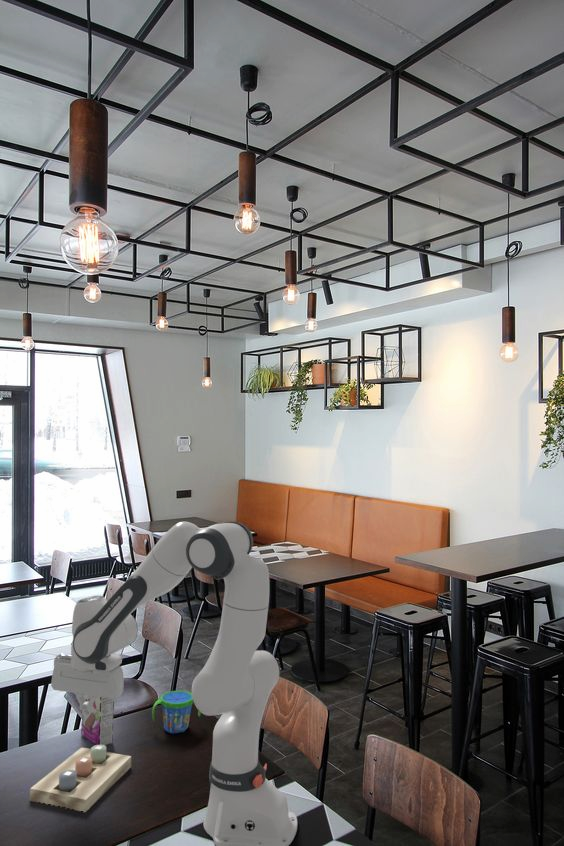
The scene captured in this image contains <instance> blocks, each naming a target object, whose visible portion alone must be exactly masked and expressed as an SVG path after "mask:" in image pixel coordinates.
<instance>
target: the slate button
mask: <svg viewBox="0 0 564 846" xmlns="http://www.w3.org/2000/svg"><path fill="white" fill-rule="evenodd" d="M76 776H77V772H76V771H74V770H66V771H63V772H61V773H60V774H59V790H60V791H65V792H71V791H72V790H73V789H75V788H76Z"/></svg>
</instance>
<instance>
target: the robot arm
mask: <svg viewBox="0 0 564 846" xmlns="http://www.w3.org/2000/svg"><path fill="white" fill-rule="evenodd" d="M253 545H254V537H253V534H252V531H251V530H250V529H249V528H248V526H246V525H245V524H243V523H241V522H238V521H226V522H223V523H215V524H213V525H210V526H208V527H207V526H206V527H205V528H202V529H201V528H200V527H199V526H197V524H195V523H192V522H189V521H179V522H177V523H176V524H174V525H173V526H171V528H170V529H168V531H166V532H165V533H164V534H163V535H162V536H161V537H160V538H159V539H158V541H157V542H156V544H155V545H154V546H153V547H152V549H151V550H149V552H148V554H147V555H146V556H145V558H144V559H143V560H142V561H141V563H140V564H139V565H138V566H137V568H136V569H135V570H134V571H133V572H132V573H131V575H130V576H129V577H128V578H127V580H125V582H123V584H122V585H121V586H120V587H119V588H118V589H117V590H116V591H115V592H114V593H113V594H112V596H111V597H110V598H109V599H108V600H107V598H106V597H105V596H102V595H93V596H89V597H84V598H82V599H79V600H78V601H77V602H76V603H75V606H74V609H73V615H72V623H71V633H72V643H71V648H70V649H71V651H70V654H64V653H59V654H58V655H56V656H55V657H54V660H53V671H52V676H51V680H50V681H51V682H50V684H51V688H52V689H53V690H54V691H58V692H59V691H60V692H66V693H73V694H75V697H76V700H77V702H78V704H79V710H80V711H82V710H84V711H91V710H92V708H93V702H94V701H95V699H96V697H97V696H98V697H105V698H112V699H114V700H115V699H116V698H118V697H120V696H121V695H122V693H123V692H124V686H125V685H124V682H125V681H124V680H125V679H124V671H123V668H122V667H121V664H122V661H123V658H122V656H121V655H119V654H117V652H119V651H122V650H123V649H125V648H127V647H129V646H131V645H132V644H133V643H134V642H135V641H136V639H137V636H138V630H139V628H138V627H139V626H138V623H137V620H136V618H135V617H134V615H132V613H133V612H134V611H136V609H138V608H140V607H141V606H143V605H144V604H147V603H148V602H150V601H152V600H155V599H156V598H159V597H161V596H163V595H166V594H167V593H169V592H170V591H172V590H174V588H175V587H177V586H178V585H180V583H181V582H182V581H183V580H184V578H185V577H186V576H187V575H188V574H189V573H190V572H191V570H192V569H194V570H196V571H197V572H199V573H201V574H204V575H206V576H207V575H208V577H210V578H213V579H215V580H217V581H218V580H222V579H223V581H224V595H223V603H222V611H221V618H220V625H219V630H218V633H217V638H216V641H215V643H214V645H213V648H212V650H211V652H210V655H209V657H208V659H207V661H206V662H205V665H204V666H203V668H202V669H201V670H200V671H199V673H198V674H196V676H195V678H194V679H193V680H192V685H191V694H192V698H193V704H194V705H195V707H196V709H197V710H198V711H200V712H201V714H203V715H204V716H209V717H210V716H219V715H221V716H220V718H218V720H217V722H216V724H215V726H214V727H213V728H214V729H213V731H212V756H211V761H210V766H209V777H208V778H209V786H210V791H209V799H208V804H207V808H206V813H205V814H204V815H205V816H204V819H203V829H204V831H205V832H206V833H207V835H209V836H210V837H211V838H212V839H213V840H212V841H213V843H214V845H215V846H289V845H291V843H292V842H293V841H294V840H295V839H294V838H295V836H296V834H297V831H298V817H297V816H296V814H295V812H292V811H290V810H289V807H288V802H287V798H286V796H285V793H283V792H282V791H281V790H279V789H278V788H277V787H276V786H275V785H274V784H273V783H271V781H269V780H268V778H266V771H267V769H268V768H267V766H268V764H267V763H264V766H263V765H262V763H260V761H259V744H260V743H259V740H260V731H261V724H262V720H263V718H264V717H263V716H264V713H265V709H266V707H267V703H268V701H269V697H270V695H271V693H272V692H273V689H274V688H275V686H276V685H277V684H278V681H279V679H280V667H279V663H278V661H277V659H276V658H275V656H274V655H272V653H270V652H269V651H267V650H263V649H262V650H258V648H259V647H260V646H261V644H262V642H263V640H264V639H265V637H266V630H267V621H268V612H269V606H270V605H269V604H270V573H269V567H268V565H267V563H266V562H265V561H264V560H262V559H260V558H258V557H256V556H251V555H250V553H252V552H251V551H252V550H253ZM83 695H88V699H90V700H89V702H86V701H85V698H84V696H83Z"/></svg>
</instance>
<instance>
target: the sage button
mask: <svg viewBox="0 0 564 846" xmlns="http://www.w3.org/2000/svg"><path fill="white" fill-rule="evenodd" d="M90 749H91V755H90V758H92V763H95V764H100V765H101V764H102V763H104V762H105V761H106V752H107V745H106V746H105V745H95V744H94V745H93V746H92V747H91V748H90Z"/></svg>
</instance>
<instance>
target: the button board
mask: <svg viewBox="0 0 564 846" xmlns="http://www.w3.org/2000/svg"><path fill="white" fill-rule="evenodd" d="M90 755H91V748H87V747H79V749H78V750H77V751H75V752H74V753H72V754H71V755H70V756H69V757H68V758H66V759H65V760H64V761H63V762H61V763H60V764H59V765H58V766H56V767H55V768H53V770H52V771H50V772H49V773H48V774H46V775H45V776H44V777H43V778H42V779H40V780H38V782H36V783H35V784H34V785H32V787H30V789H29V802H34V803H39V802H40V803H39V804H43V803H45V804H44V805H48V804H51V805H50V806H53V805H55V806H54V807H58V806H60V807H59V808H62V807H66V808H65V809H67V808H70V809H69V810H72V809H74V810H73V811H76V812H77V811H78V812H81V811H83V812H82V813H86V812H87V811H88V810H90V808H91V807H93V805H94V804H96V803H97V802H98V800H99V799H101V798H102V796H104V795H105V793H106V792H108V791H109V789H110V788H112V787H113V786H114V784H115V783H117V782H118V780H120V779H121V778H122V777H123V776H124V775H125V774H126V773H127V772H128V771H129V770H130V769H131V768H132V756H131V755H126V754H120V753H115V752H110V751H106V761H105V762H104V763H102V764H101V765H100V764H95V763H92V773H91V774H90V775H89V776H88V777H87V778H84V777H79V776H76V788H75V789H73V790H72V791H71V792H65V791H60V790H59V774H60V773H61V772H63V771H66V770H74V771H75V766H76V760H77V759H79V758H81V757H90Z"/></svg>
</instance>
